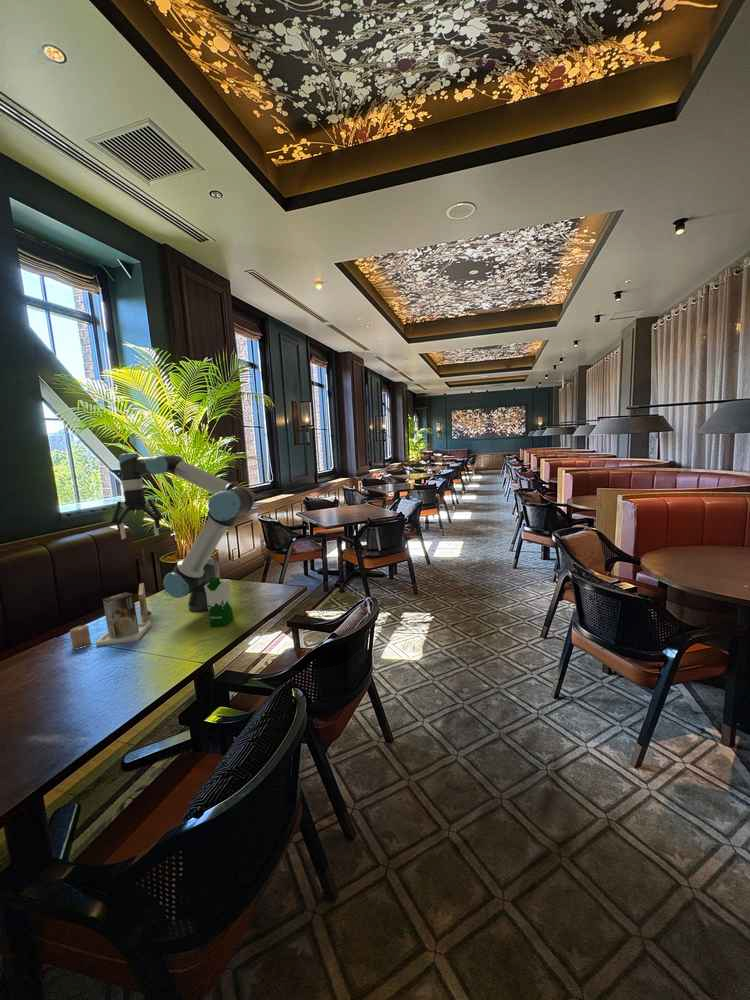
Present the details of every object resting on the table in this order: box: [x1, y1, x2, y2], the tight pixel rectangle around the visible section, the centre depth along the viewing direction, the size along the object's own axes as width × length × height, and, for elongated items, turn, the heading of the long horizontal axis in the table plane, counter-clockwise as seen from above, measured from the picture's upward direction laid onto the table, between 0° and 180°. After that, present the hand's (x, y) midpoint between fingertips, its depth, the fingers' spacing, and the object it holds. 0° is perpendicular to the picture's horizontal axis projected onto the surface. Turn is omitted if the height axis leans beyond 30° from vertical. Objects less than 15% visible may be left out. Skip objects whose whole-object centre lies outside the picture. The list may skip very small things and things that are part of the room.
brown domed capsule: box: [69, 624, 92, 649], centre depth 163 cm, size 6×6×7 cm
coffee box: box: [102, 591, 139, 639], centre depth 169 cm, size 9×6×16 cm
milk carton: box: [204, 577, 234, 628], centre depth 175 cm, size 9×9×20 cm
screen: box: [138, 582, 152, 623], centre depth 186 cm, size 4×18×14 cm, turn 28°
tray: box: [95, 620, 152, 647], centre depth 170 cm, size 15×15×2 cm
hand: (140, 537), depth 184 cm, fingers open, 13 cm apart
